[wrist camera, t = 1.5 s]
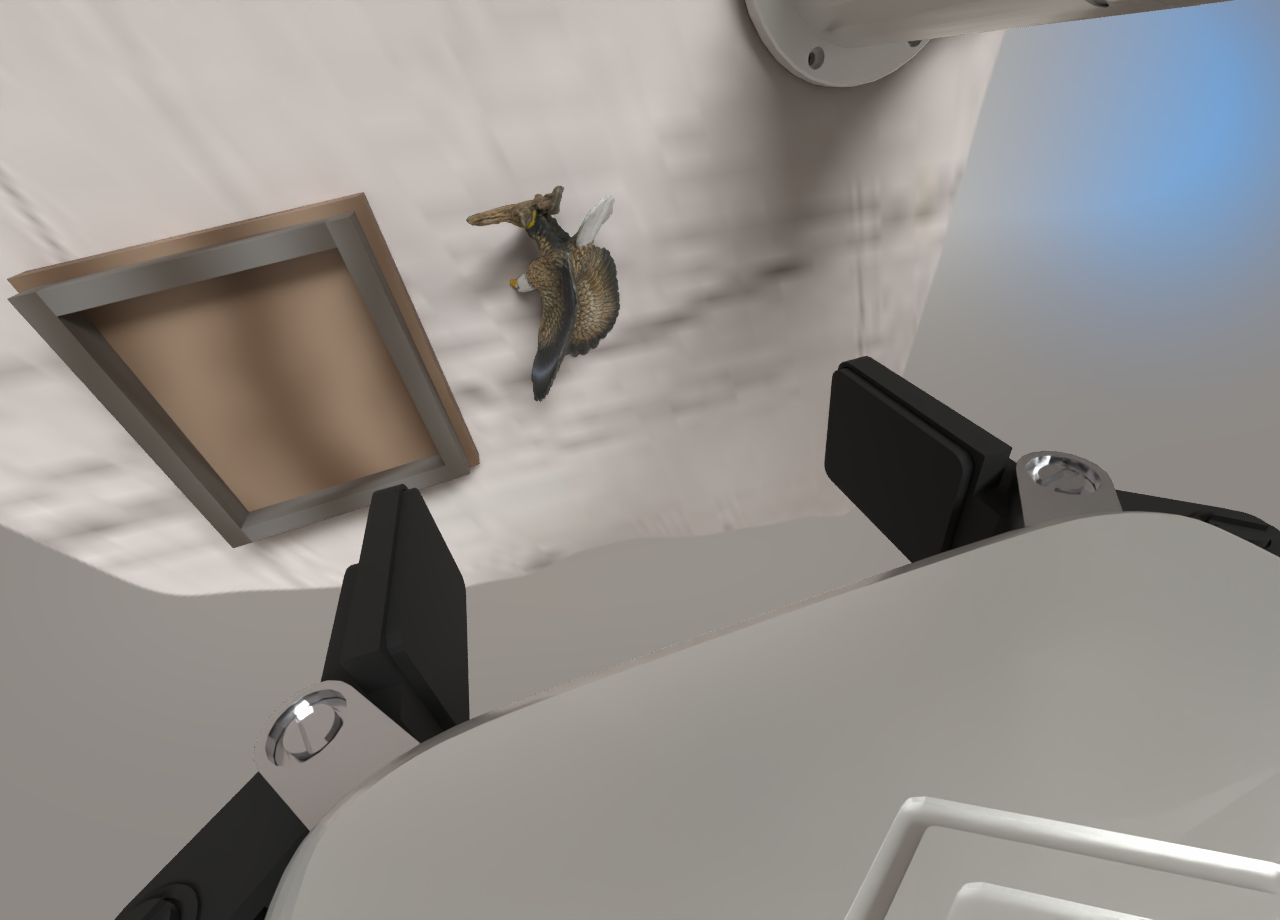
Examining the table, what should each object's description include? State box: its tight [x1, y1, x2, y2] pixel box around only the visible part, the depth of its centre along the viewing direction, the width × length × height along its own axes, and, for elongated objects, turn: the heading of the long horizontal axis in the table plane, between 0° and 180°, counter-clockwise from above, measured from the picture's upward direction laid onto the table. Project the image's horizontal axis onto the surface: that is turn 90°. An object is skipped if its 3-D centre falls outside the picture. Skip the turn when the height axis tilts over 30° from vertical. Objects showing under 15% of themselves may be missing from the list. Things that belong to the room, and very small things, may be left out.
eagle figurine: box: [466, 186, 620, 402], centre depth 27 cm, size 8×7×9 cm
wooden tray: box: [7, 192, 480, 548], centre depth 27 cm, size 14×15×3 cm
